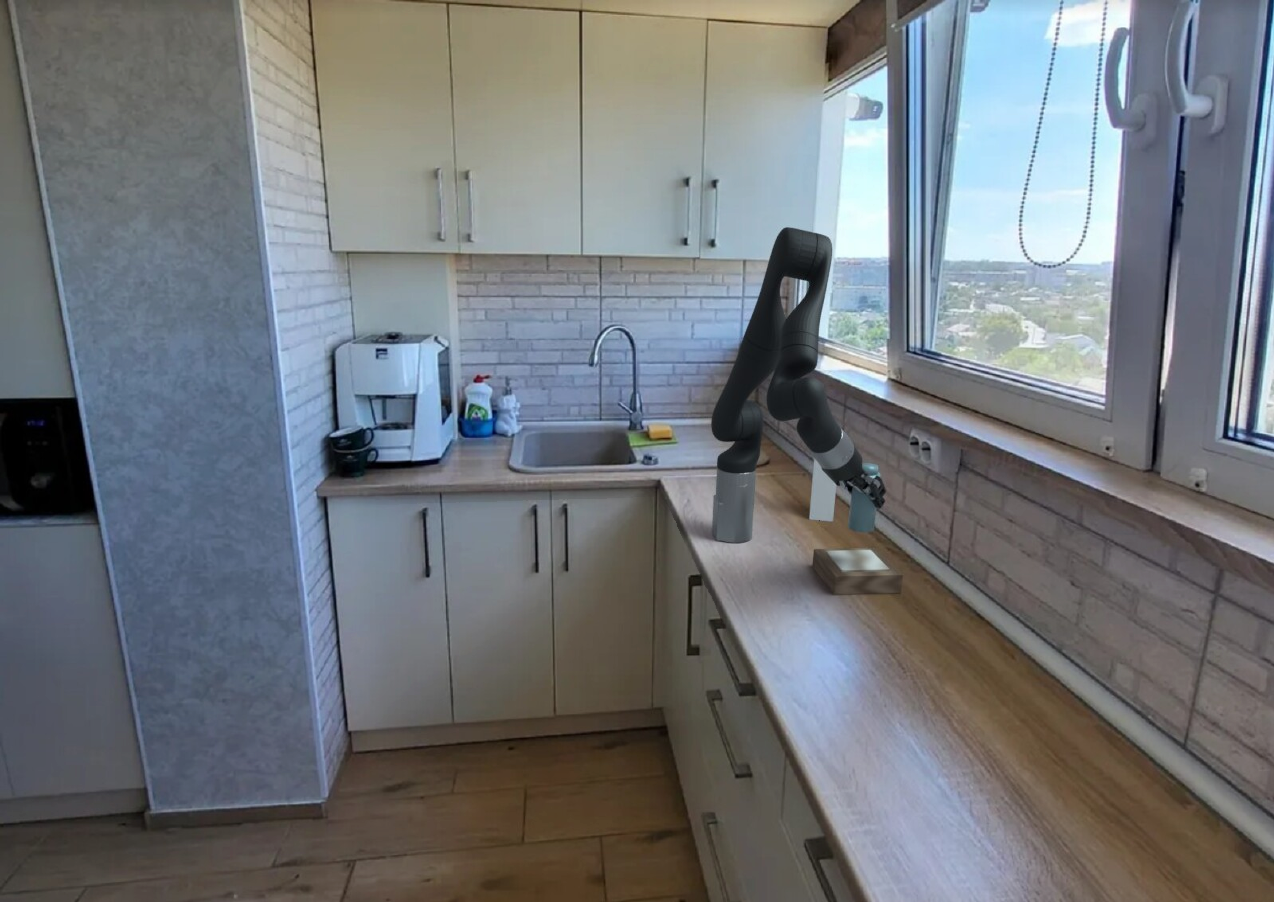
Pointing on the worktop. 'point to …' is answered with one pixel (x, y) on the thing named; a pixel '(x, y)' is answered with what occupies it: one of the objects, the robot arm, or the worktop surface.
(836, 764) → the worktop surface
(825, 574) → the plinth
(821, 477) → the milk
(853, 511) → the blue capped bottle
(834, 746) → the worktop surface
